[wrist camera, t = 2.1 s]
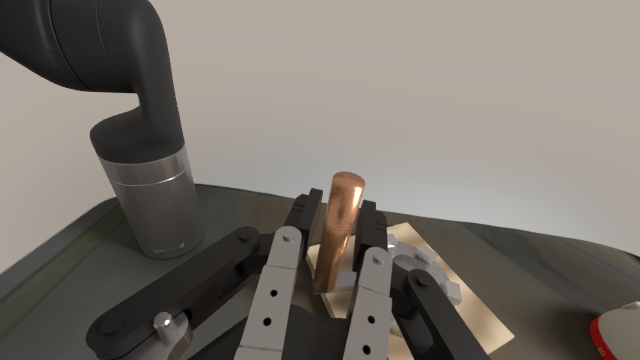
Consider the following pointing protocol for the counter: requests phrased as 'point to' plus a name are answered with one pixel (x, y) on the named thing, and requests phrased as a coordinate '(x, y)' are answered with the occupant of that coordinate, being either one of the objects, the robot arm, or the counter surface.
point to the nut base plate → (469, 309)
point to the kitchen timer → (618, 333)
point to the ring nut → (336, 239)
